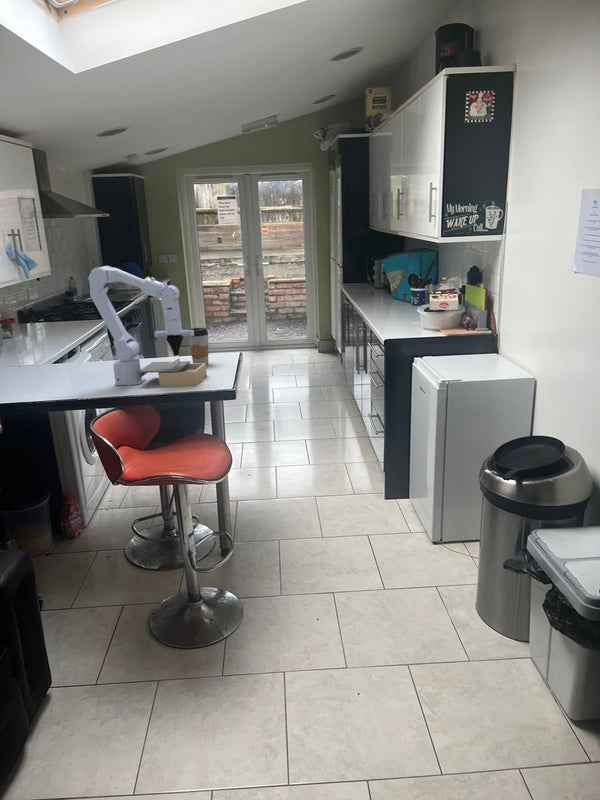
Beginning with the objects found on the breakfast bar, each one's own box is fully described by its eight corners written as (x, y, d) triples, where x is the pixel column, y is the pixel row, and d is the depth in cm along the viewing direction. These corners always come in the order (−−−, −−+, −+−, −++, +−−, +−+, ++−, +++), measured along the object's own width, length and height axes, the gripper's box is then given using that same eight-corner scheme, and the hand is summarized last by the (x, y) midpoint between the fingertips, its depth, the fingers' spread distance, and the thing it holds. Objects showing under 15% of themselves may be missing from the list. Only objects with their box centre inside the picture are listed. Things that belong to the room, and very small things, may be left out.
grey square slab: (139, 377, 223) (137, 365, 222) (153, 367, 237) (151, 357, 236) (178, 376, 221) (177, 365, 220) (190, 367, 235) (189, 356, 234)
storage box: (159, 386, 224) (158, 373, 222) (172, 376, 237) (170, 364, 235) (196, 385, 222) (195, 372, 220) (206, 375, 235) (205, 363, 233)
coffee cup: (187, 366, 251) (183, 331, 247) (196, 362, 259) (192, 327, 255) (206, 367, 249) (202, 331, 245) (214, 362, 257) (210, 327, 252)
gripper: (195, 316, 226) (198, 352, 230) (157, 317, 228) (162, 353, 232) (189, 319, 219) (193, 356, 223) (150, 321, 221) (155, 357, 225)
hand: (176, 355), depth 227 cm, fingers closed
